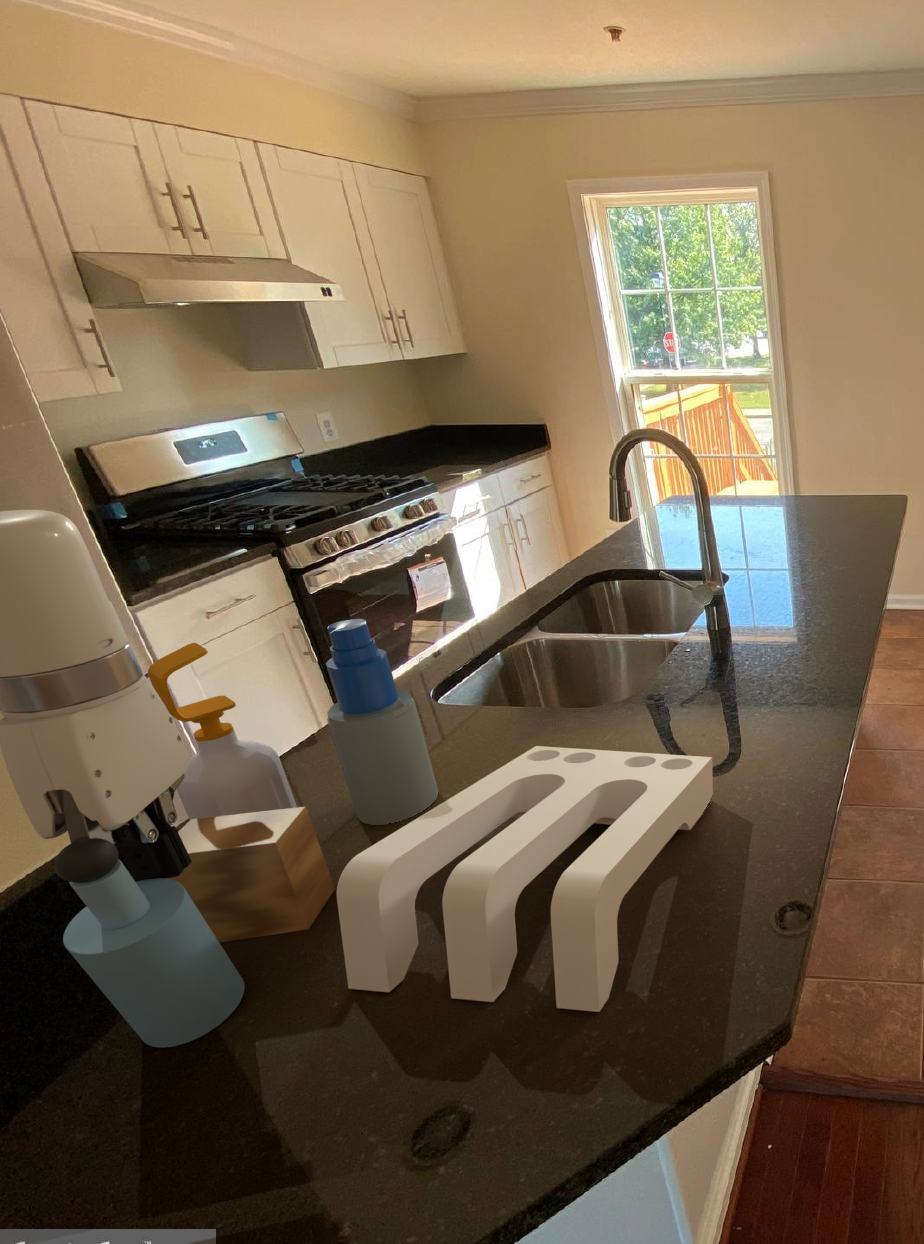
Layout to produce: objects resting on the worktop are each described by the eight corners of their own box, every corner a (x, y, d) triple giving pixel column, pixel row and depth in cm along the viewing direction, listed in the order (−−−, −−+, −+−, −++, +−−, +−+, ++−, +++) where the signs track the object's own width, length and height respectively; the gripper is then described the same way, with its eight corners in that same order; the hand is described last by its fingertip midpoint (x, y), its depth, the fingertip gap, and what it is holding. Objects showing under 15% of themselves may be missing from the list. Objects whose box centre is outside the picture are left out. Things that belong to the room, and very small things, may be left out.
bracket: (712, 757, 93) (593, 890, 61) (713, 842, 95) (599, 1011, 64) (536, 746, 95) (333, 869, 63) (541, 829, 97) (348, 988, 66)
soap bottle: (316, 831, 87) (251, 646, 77) (221, 874, 80) (137, 675, 70) (284, 806, 91) (219, 628, 82) (192, 845, 84) (109, 654, 75)
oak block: (191, 947, 70) (149, 858, 66) (227, 903, 75) (190, 819, 71) (308, 929, 72) (275, 842, 68) (335, 889, 78) (306, 806, 74)
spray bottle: (426, 775, 98) (380, 605, 88) (448, 803, 92) (402, 624, 83) (349, 803, 92) (290, 623, 82) (368, 834, 86) (308, 645, 77)
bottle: (238, 1042, 63) (59, 1021, 47) (143, 1055, 62) (-78, 1038, 45) (280, 894, 70) (137, 828, 53) (196, 902, 69) (21, 836, 52)
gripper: (83, 645, 59) (169, 826, 66) (-94, 734, 46) (37, 949, 53) (191, 636, 61) (263, 813, 68) (50, 720, 47) (159, 930, 54)
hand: (164, 872), depth 60 cm, fingers closed
